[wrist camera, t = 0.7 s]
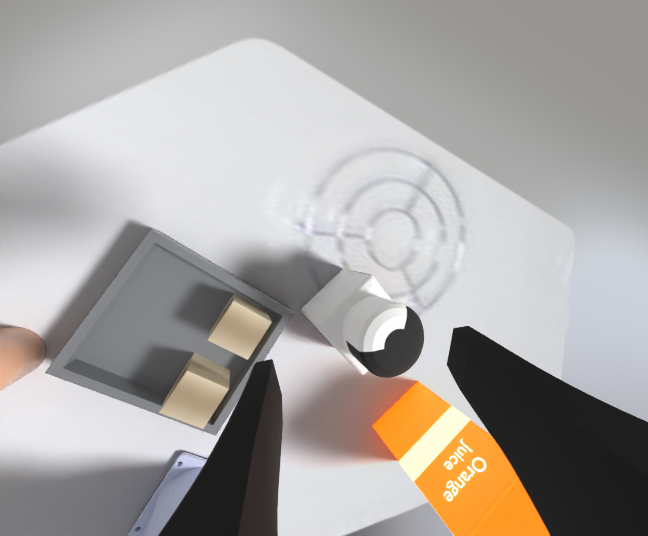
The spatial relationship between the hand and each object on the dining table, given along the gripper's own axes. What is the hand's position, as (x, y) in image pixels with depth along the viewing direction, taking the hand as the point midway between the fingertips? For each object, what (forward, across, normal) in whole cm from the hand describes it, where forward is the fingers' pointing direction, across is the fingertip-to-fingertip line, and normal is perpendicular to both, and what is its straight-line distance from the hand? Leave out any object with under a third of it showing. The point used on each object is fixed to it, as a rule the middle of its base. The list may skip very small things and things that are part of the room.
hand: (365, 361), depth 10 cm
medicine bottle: (+18, -2, +11) cm, 21 cm away
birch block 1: (+12, +14, +13) cm, 23 cm away
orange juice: (+14, -9, +29) cm, 33 cm away
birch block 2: (+15, +9, +8) cm, 20 cm away
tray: (+15, +14, +8) cm, 22 cm away
